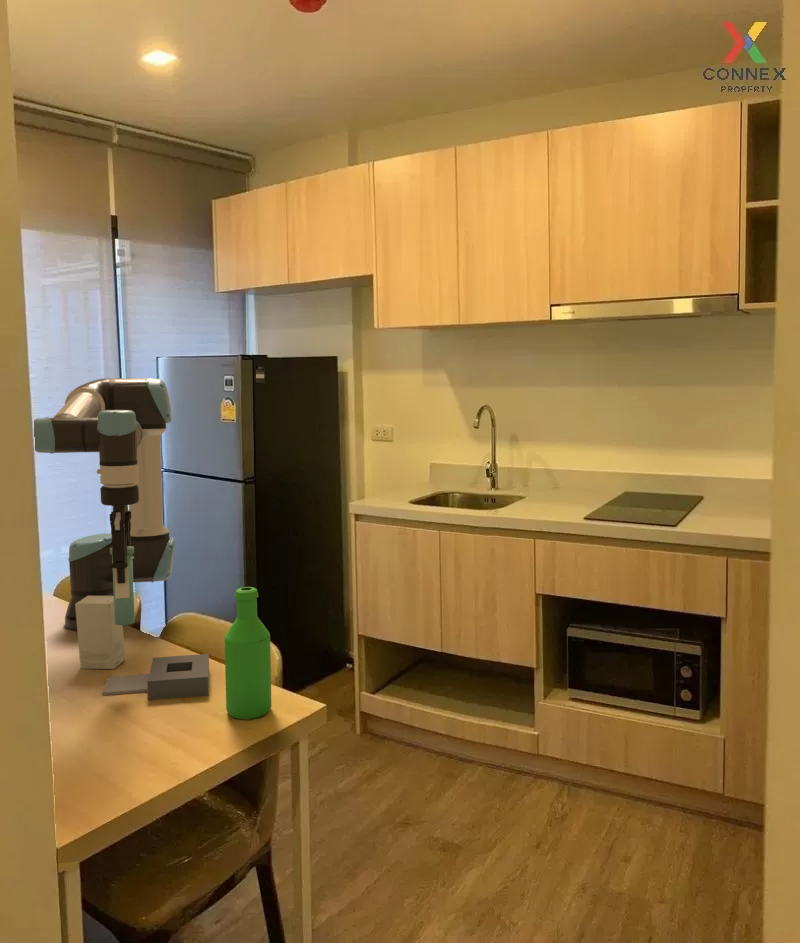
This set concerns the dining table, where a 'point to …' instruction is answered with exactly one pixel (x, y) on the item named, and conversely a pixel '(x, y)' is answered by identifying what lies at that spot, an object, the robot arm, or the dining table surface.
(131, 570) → the plug
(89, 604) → the skincare box
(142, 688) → the coaster
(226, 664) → the bottle
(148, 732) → the dining table surface
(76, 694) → the dining table surface
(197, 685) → the socket block
